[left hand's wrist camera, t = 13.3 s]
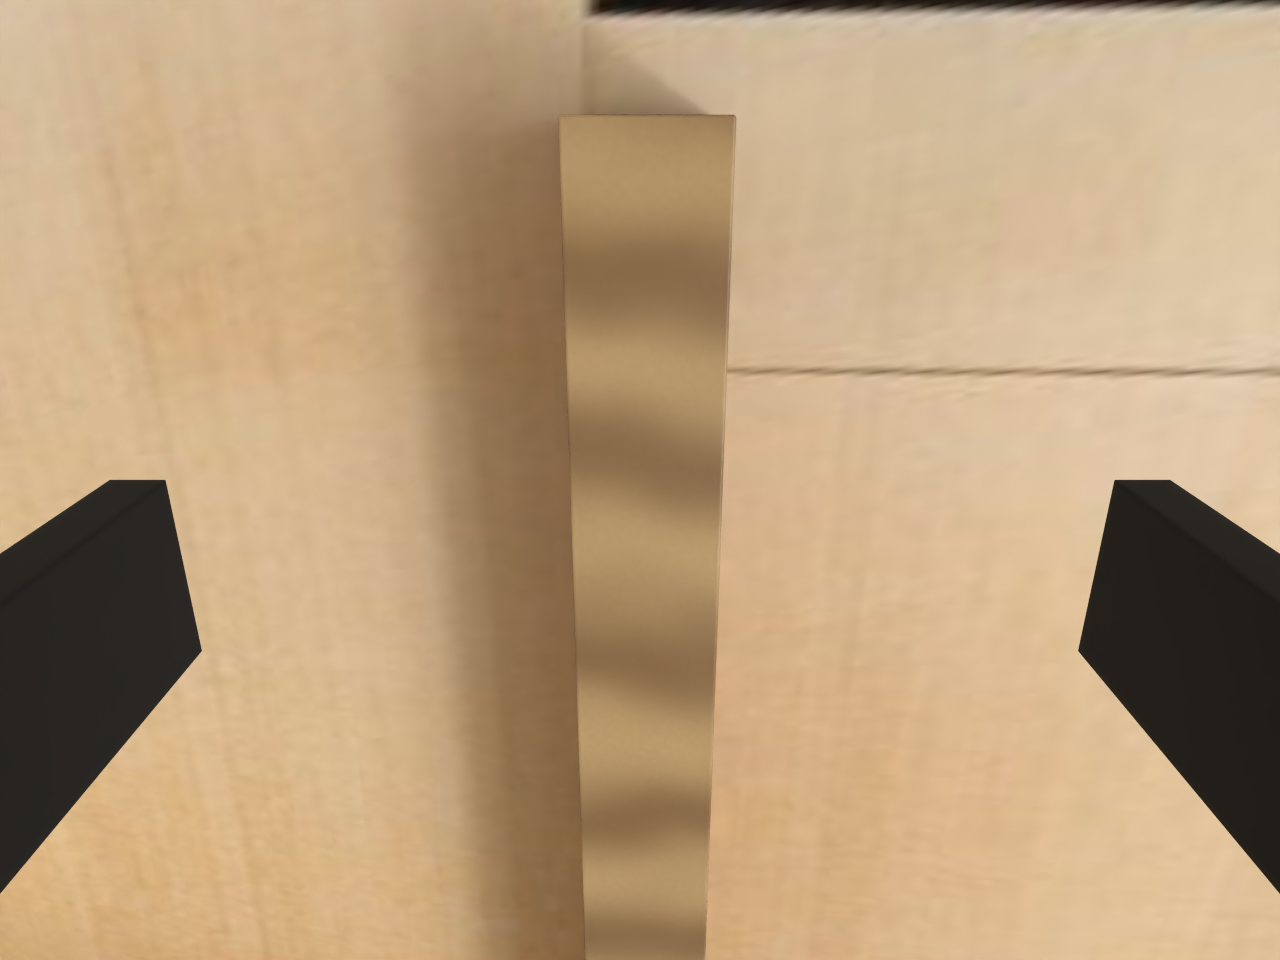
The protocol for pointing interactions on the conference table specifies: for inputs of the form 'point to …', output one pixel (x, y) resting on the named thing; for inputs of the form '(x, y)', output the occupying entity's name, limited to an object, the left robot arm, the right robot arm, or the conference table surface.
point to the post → (646, 509)
